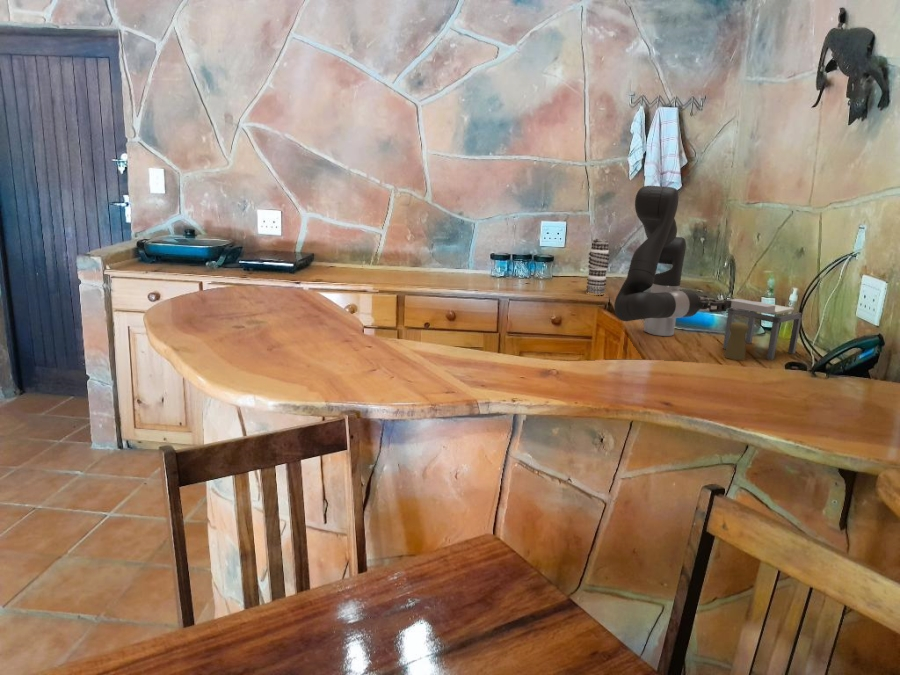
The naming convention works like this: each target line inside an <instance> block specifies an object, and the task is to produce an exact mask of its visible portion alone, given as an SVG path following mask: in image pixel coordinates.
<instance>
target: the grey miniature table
mask: <svg viewBox="0 0 900 675" xmlns="http://www.w3.org/2000/svg"><path fill="white" fill-rule="evenodd" d="M736 316H738V317H745V318H748V323H747V325H748V328H749V329H748V332H747V333H746V341H745V344H747V343H749V345H751V344H752V343H753V337H754V331H755V326H756V325H755V324H756V320H759V321H765V322H769V323H771V331H770V336H769V342H768V348H767V355H766V360H768V361H773V360H775V354H776V349H777V343H778V338H779V337H778V336H779V330H780V325H781V323H785V322H789V321H793V323H792V328H791V333H790V339H789V346H788V351H787V353H788V354H791V355H794V354H796V351H797V350H796V349H797V344H798V339H799V334H800V327H801V322H802V318H803V312H793V313H788V314H783V315H779V316H775V315H773V316H772V315H769V314H764V313H759V312H755V311H750V310H744V309H739V308H734V307H731V308H729V309H728V314H727V317H726V318H727V319H726V325H725V331H724V338H723V345H722V349H723V348H724V350H726V347H727V344H728V340H729V337H730V334H731V331H730V325H731V323H733V322H735V317H736ZM750 343H751V344H750Z"/></svg>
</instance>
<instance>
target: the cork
mask: <svg viewBox="0 0 900 675" xmlns="http://www.w3.org/2000/svg"><path fill="white" fill-rule="evenodd" d="M748 329H749V328H748V323H745V322H742V321H734V322H733V323H731V325H730V331H731V334H730V337H729V340H728V344H727V347H726V349H724V350H725V351H724V354H723V357H724V356H725V357H726V358H725V357H724V358H725V359H727V358H729V359H728V360H731V359H733V360H732V361H745V360H746V343H745V341H746V334H747V332H748Z"/></svg>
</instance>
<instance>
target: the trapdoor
mask: <svg viewBox="0 0 900 675" xmlns="http://www.w3.org/2000/svg"><path fill="white" fill-rule="evenodd" d="M729 301H731V302H732V303H731V308H739V309H744V310H750V311H755V312H757V313H759V314H764V315H770V316H772V315H773V316H775V315H780V314H785V313H791V312H794V311H795V308H794V307H789V306H783V305H779V304H778V305H777V304H772V303H766V302H761V301H754V300H753V301H752V300H746V299H741V298H734V299H729ZM750 311H749V312H750Z"/></svg>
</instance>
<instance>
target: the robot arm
mask: <svg viewBox="0 0 900 675" xmlns="http://www.w3.org/2000/svg"><path fill="white" fill-rule="evenodd" d="M634 207H635V208H634V209H635V212H636V213H635V214H636V216H637V218H638V219H639V221H640V223H642V225H643V228H644V232H645V235H646V239H645V240H644V241H643V242H642V243H641V244H640V246H638V247H637V249H636V250H635V251H634V253H633V255H632V257H631V260H630V263H629V268H628V272H627V276H626V279H625V281H624V282H623V284H622V286H621V288H620V289H619V291H618V294H617V295H616V297H615V300H614V305H613V306H614V307H613V310H614V314H615V317H616V318H617V319H618V320H619V321H623V322H633V321H638V320H639V321H640V320H644V323H643V324H644V325H643V332H646V333H647V334H650V335H653V336H660V337H671V336H674V334H675V328H676V321H677V319H678V318H681V319H682V318H691V317H693V316H695V315H696V314H697V313H698V312H704V311H706V312H710V313H720V312H727V310H729V309H730V308H732V307H731V303H732V302H731V301H729V300H730V299H729V300H718V299H717V300H716V299H715V298H711V297H708V295H706V294H704V295H698V294H697V293H696V292H695V291H693V290H691V289H683V290H680V288H681V282H682V280H681V279H682V273H683V272H682V271H683V267H684V266H683V265H684V260H685V256H686V255H685V254H686V250H687V241H686V239H685V238H684V237H681V236H680V237H679V236H677V235H678V226H677V222H676V218H675V217H676V214H677V210H678V207H679V190H678V189H677V188H676V187H673V186H672V187H671V186H662V185H644V186H642V187H640V188H639V190H638V191H637V193H636V196H635V199H634ZM658 264H662V265H672V267H670V269H667V270H666V271H664V272H658V273H657V270H658ZM649 289H650V291H647V290H649ZM709 302H710V303H709Z"/></svg>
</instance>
